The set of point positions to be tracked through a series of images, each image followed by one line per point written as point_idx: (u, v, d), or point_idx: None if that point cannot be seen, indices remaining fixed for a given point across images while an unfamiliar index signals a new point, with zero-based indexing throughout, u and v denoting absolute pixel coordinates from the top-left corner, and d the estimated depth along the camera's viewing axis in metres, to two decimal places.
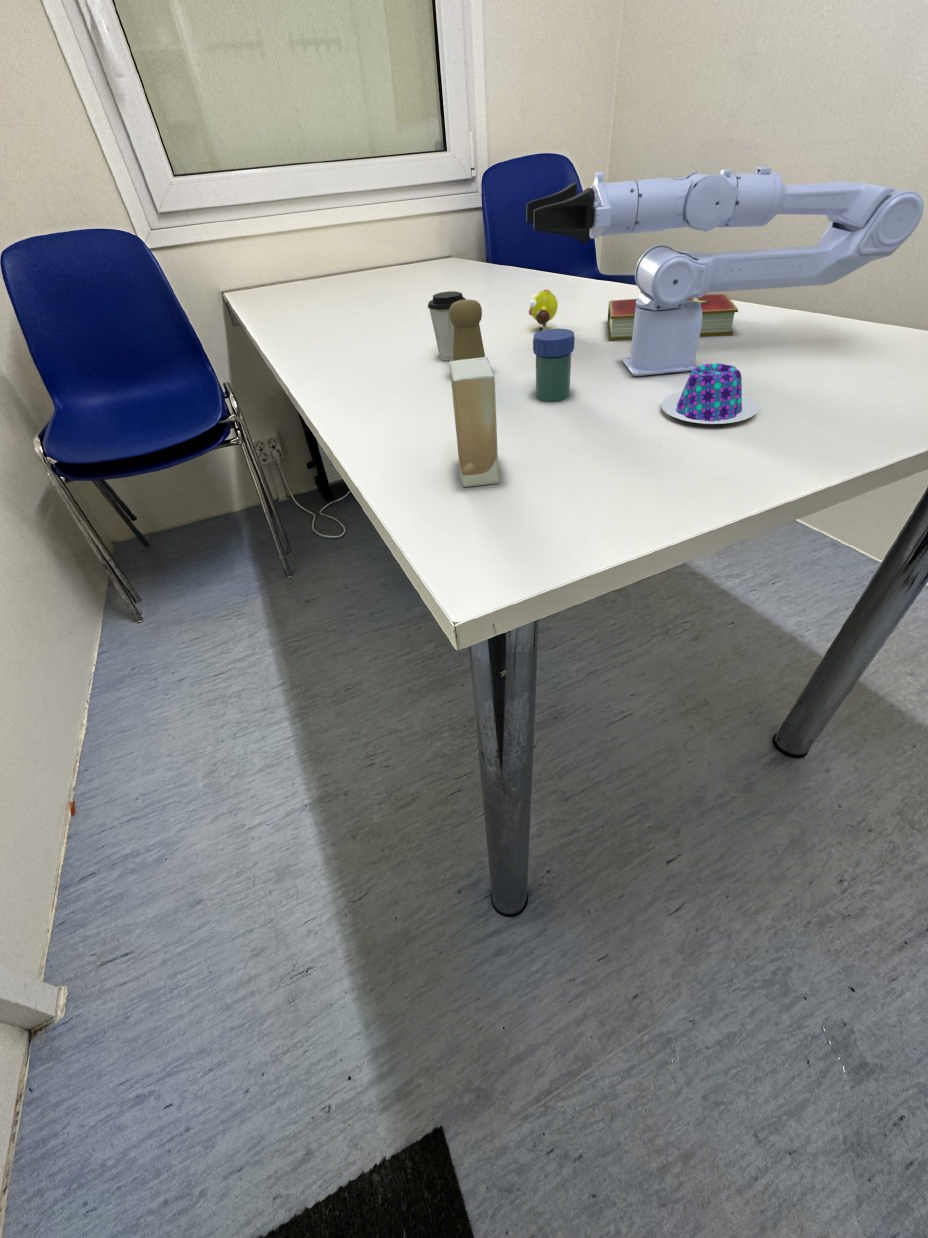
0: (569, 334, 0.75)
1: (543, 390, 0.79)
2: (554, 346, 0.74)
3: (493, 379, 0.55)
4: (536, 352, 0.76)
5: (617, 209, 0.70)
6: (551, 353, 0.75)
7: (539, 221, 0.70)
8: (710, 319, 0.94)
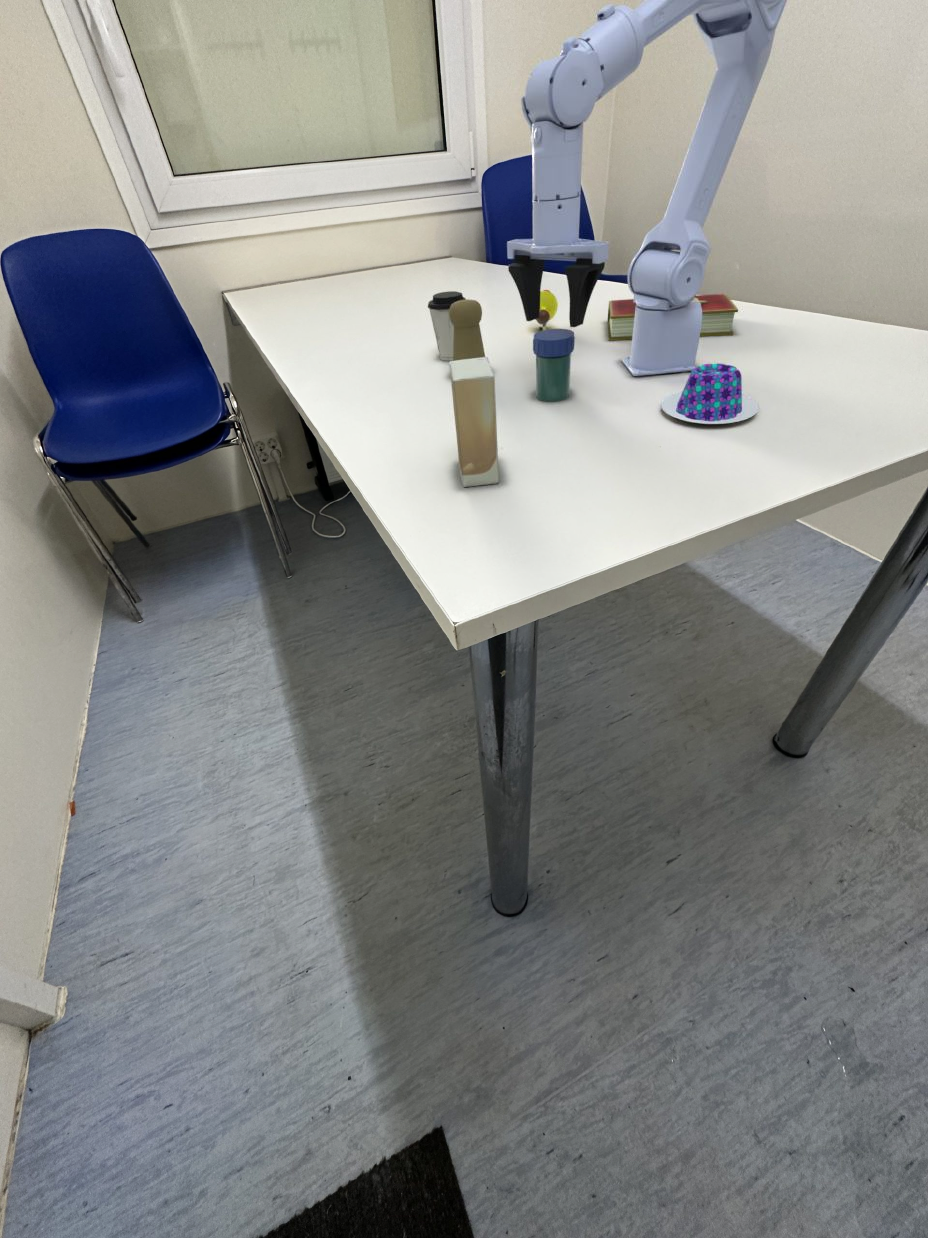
0: (569, 334, 0.75)
1: (543, 390, 0.79)
2: (554, 346, 0.74)
3: (493, 379, 0.55)
4: (536, 352, 0.76)
5: (573, 224, 0.66)
6: (551, 353, 0.75)
7: (580, 319, 0.72)
8: (710, 319, 0.94)
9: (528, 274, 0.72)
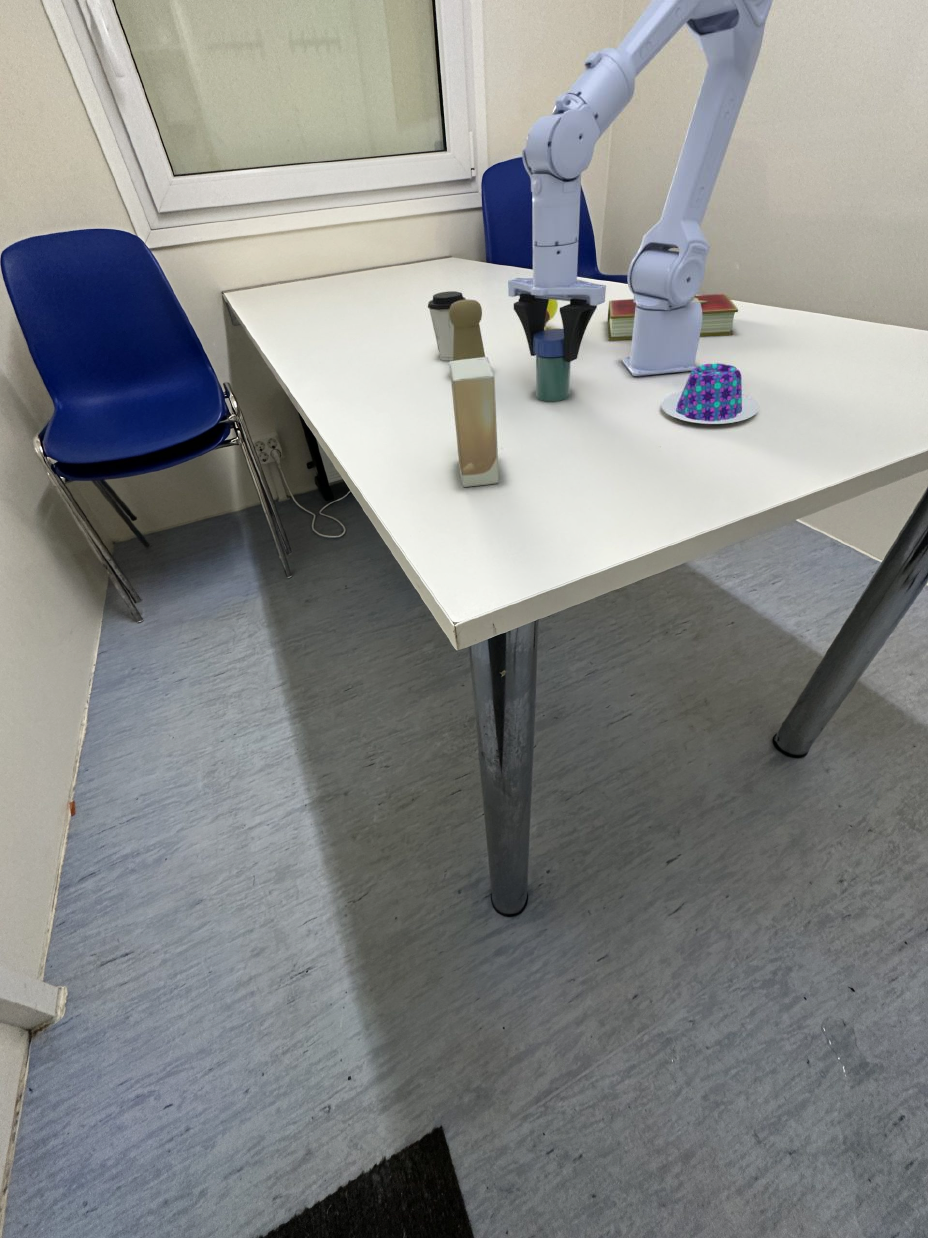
0: None
1: (543, 390, 0.79)
2: (554, 346, 0.74)
3: (493, 379, 0.55)
4: (536, 352, 0.76)
5: (572, 267, 0.69)
6: (551, 353, 0.75)
7: (574, 354, 0.75)
8: (710, 319, 0.94)
9: (533, 312, 0.75)
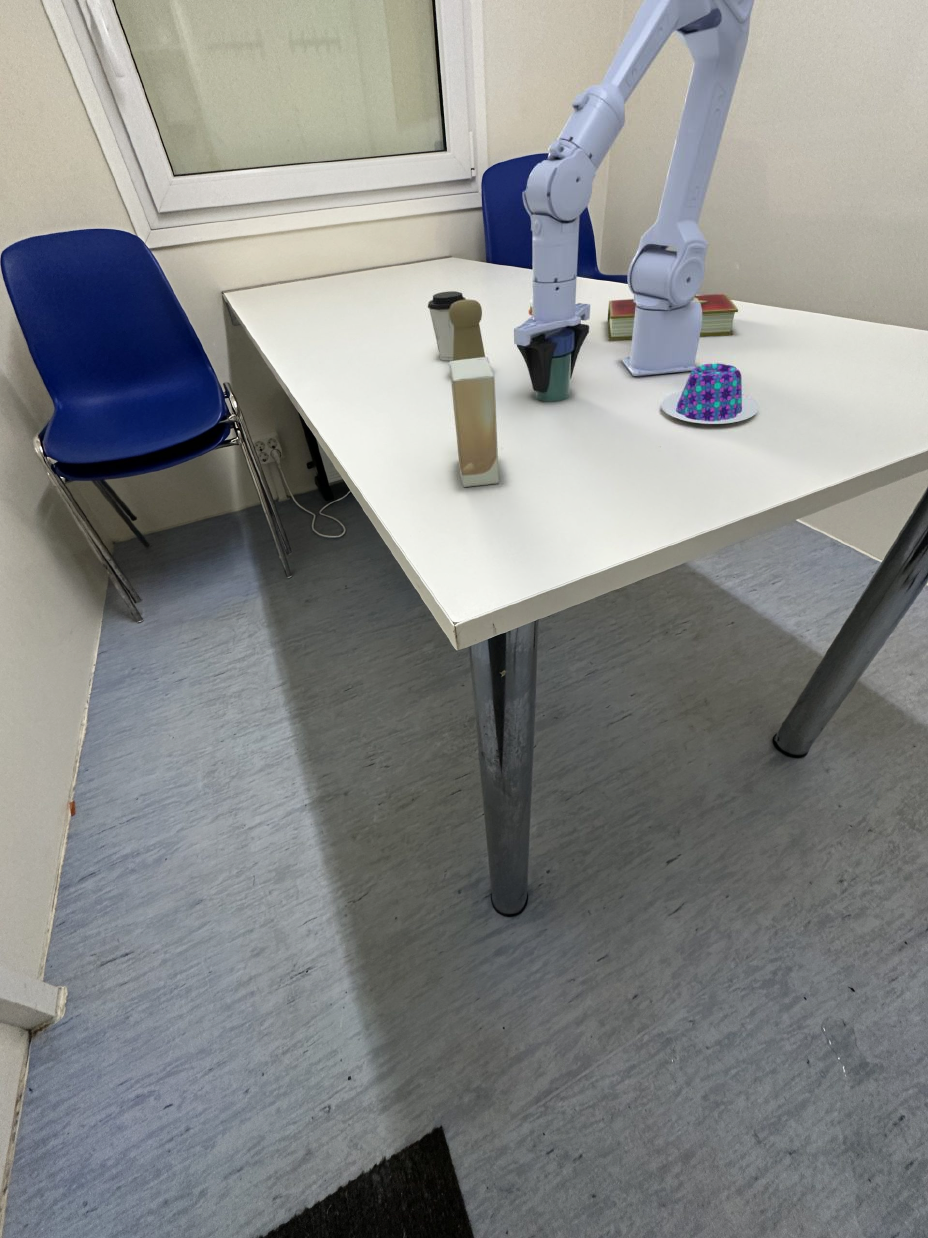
0: None
1: None
2: (573, 338, 0.76)
3: (493, 379, 0.55)
4: (562, 351, 0.75)
5: None
6: (573, 345, 0.76)
7: None
8: (710, 319, 0.94)
9: None
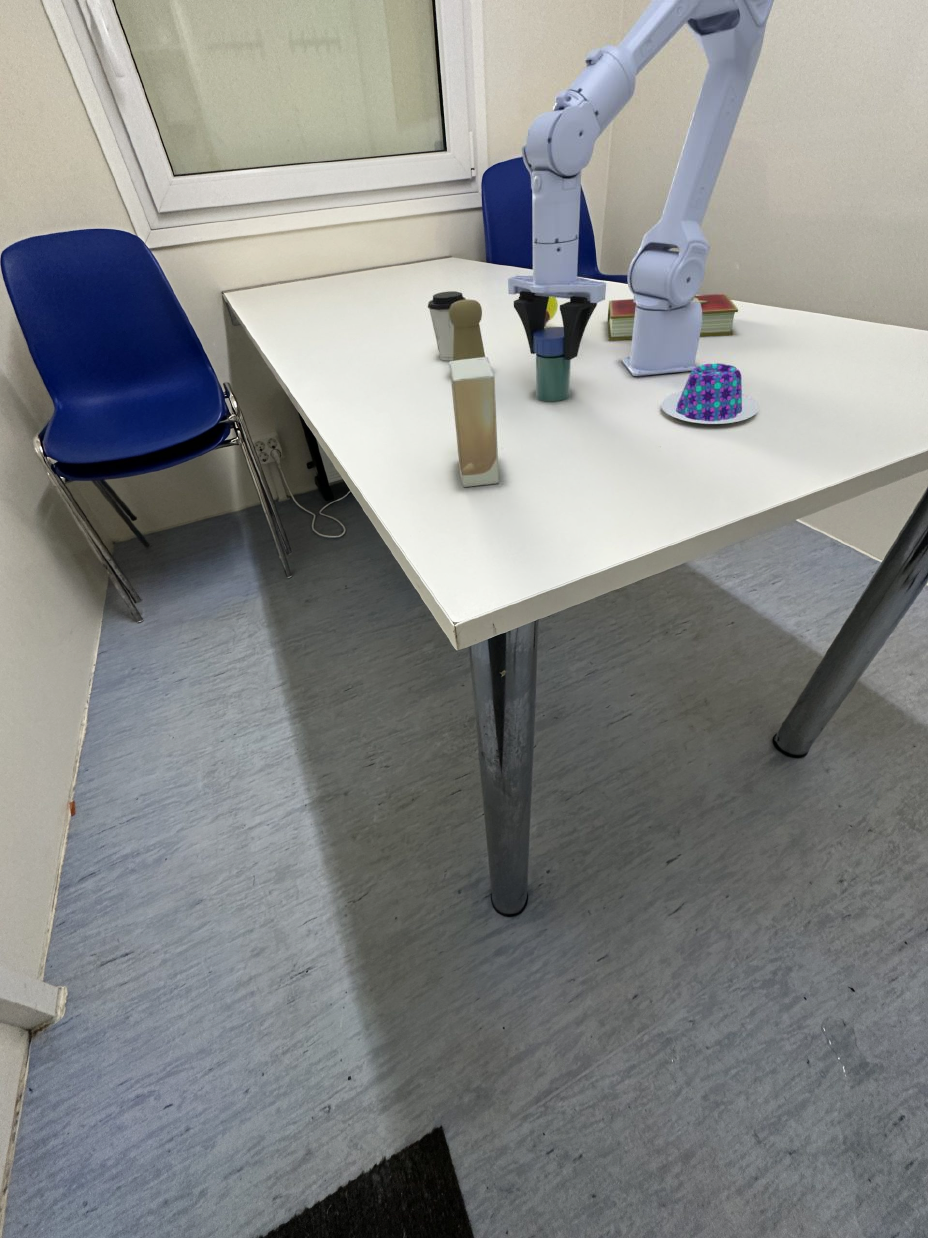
0: (559, 328, 0.77)
1: (544, 390, 0.79)
2: None
3: (493, 379, 0.55)
4: (562, 351, 0.75)
5: (572, 265, 0.68)
6: None
7: (574, 352, 0.75)
8: (710, 319, 0.94)
9: (533, 310, 0.75)
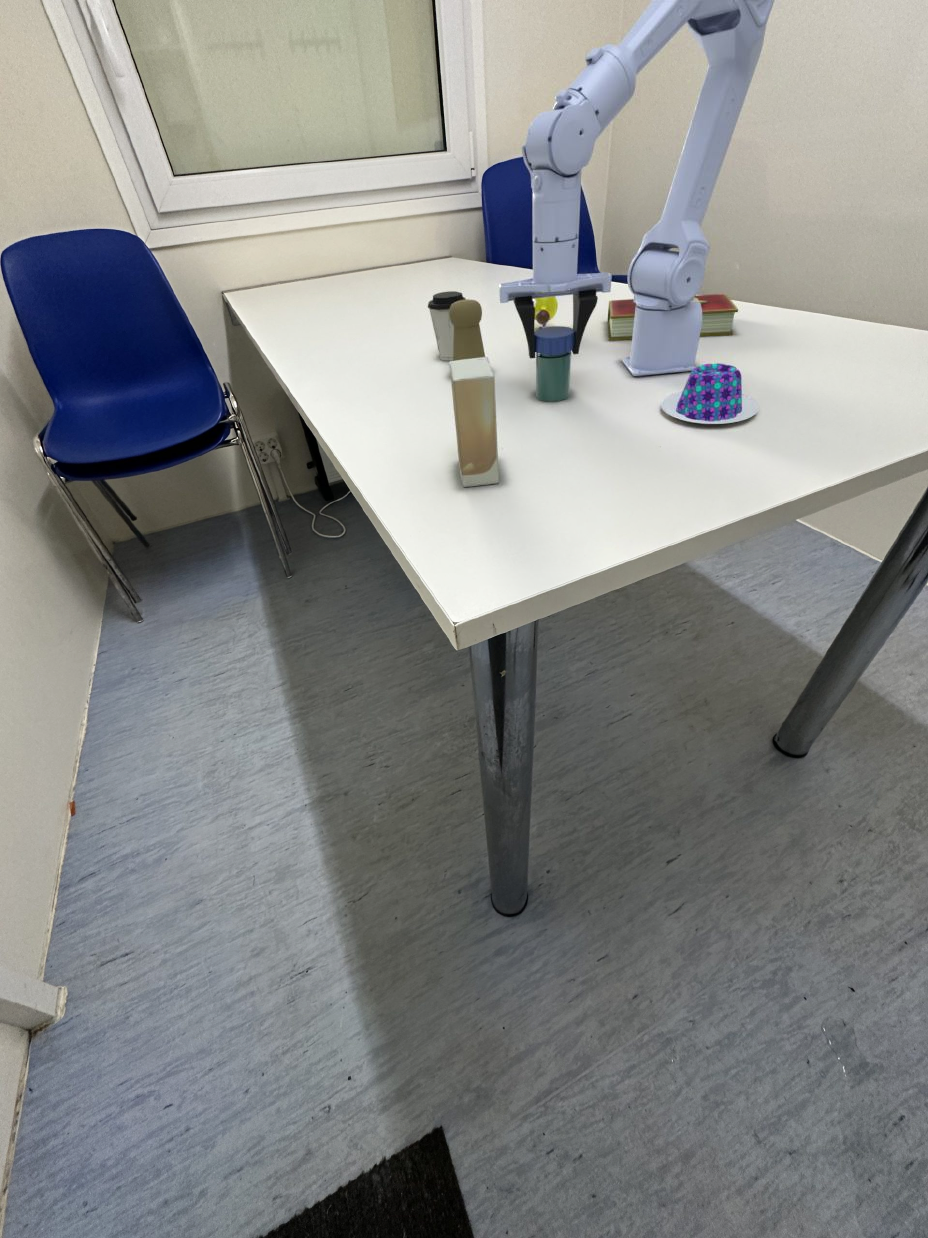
0: (547, 328, 0.77)
1: (544, 390, 0.79)
2: None
3: (493, 379, 0.55)
4: (572, 346, 0.76)
5: None
6: None
7: None
8: (710, 319, 0.94)
9: None
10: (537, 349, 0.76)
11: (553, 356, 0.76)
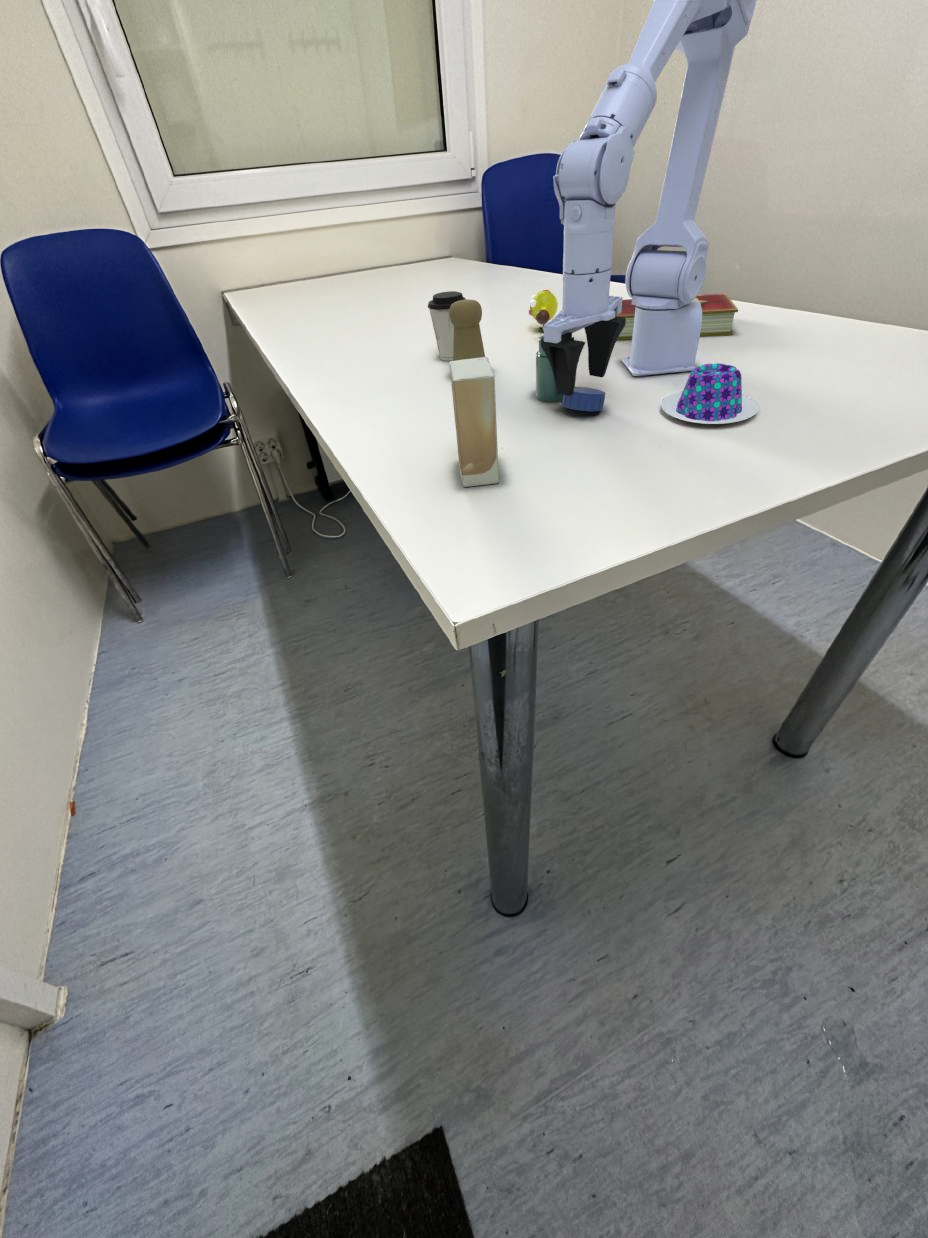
0: None
1: (544, 390, 0.79)
2: None
3: (493, 379, 0.55)
4: None
5: None
6: None
7: None
8: (710, 319, 0.94)
9: None
10: (577, 406, 0.73)
11: None
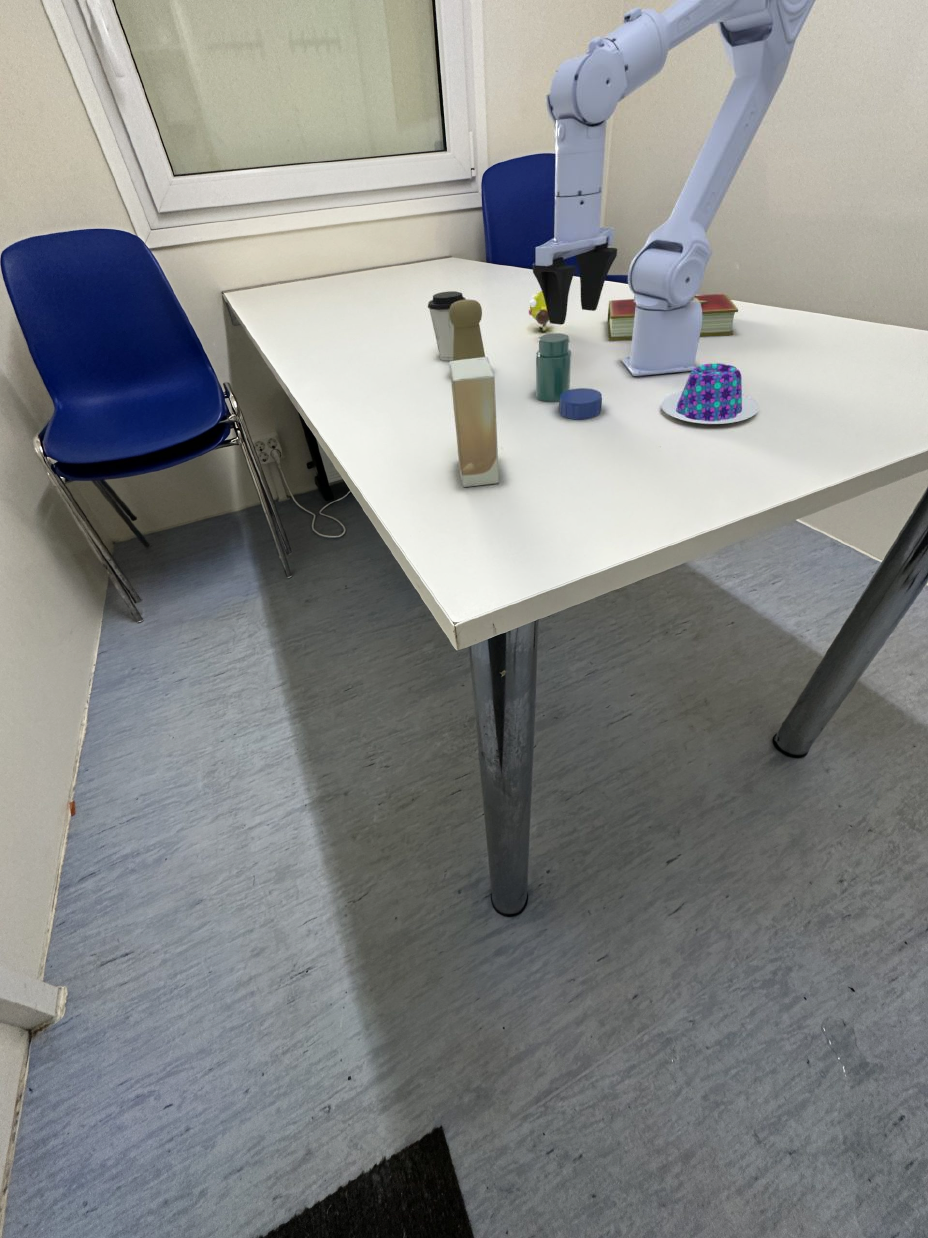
0: (566, 392, 0.76)
1: (544, 390, 0.79)
2: None
3: (493, 379, 0.55)
4: None
5: None
6: None
7: None
8: (710, 319, 0.94)
9: None
10: (573, 415, 0.74)
11: (553, 356, 0.76)
